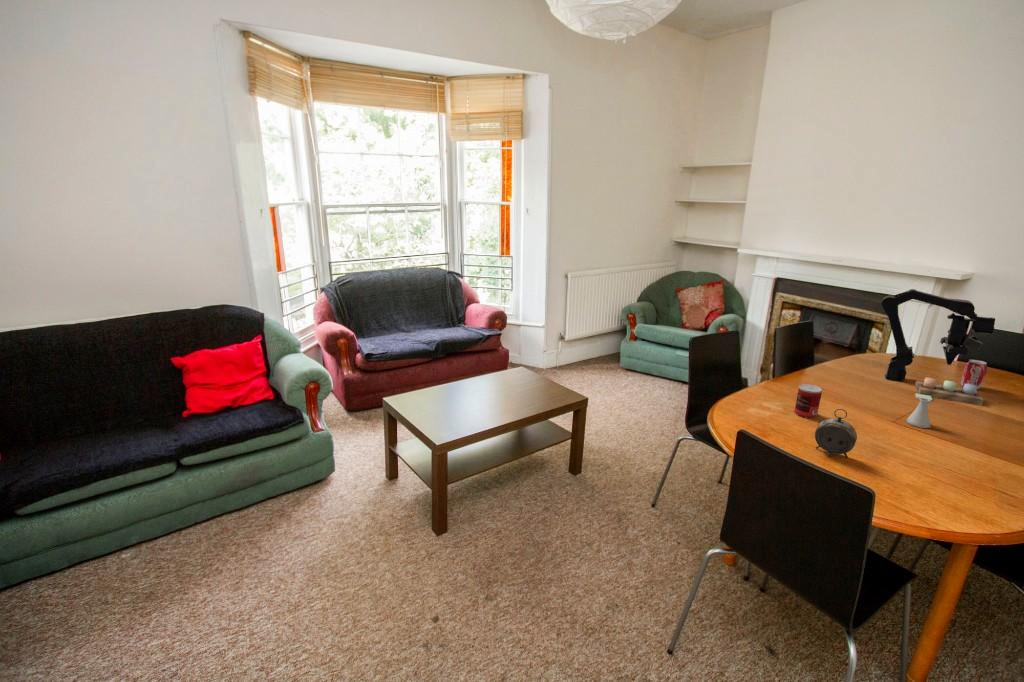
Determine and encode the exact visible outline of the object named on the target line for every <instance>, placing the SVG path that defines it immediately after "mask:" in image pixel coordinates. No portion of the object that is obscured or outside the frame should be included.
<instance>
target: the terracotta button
mask: <svg viewBox="0 0 1024 682" xmlns="http://www.w3.org/2000/svg"><path fill="white" fill-rule="evenodd" d="M937 381H938V380H937V379H936V378H932V377H924V380H923V382H924V383H923V387H924V388H930V389H935V386H936V384H937Z"/></svg>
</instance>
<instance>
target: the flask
mask: <svg viewBox="0 0 1024 682" xmlns="http://www.w3.org/2000/svg"><path fill="white" fill-rule="evenodd" d="M918 400H919V403H918V404H917V407H916V408H915V409H914V410H913V412H912V413H911V414H910V415H909V417H907V418H906V423H907V424H909V425H911V426H913V427H916V428H921V429H931V421H930V417H929V404H930V403H931V401H930V400H929V399H926V398H919V399H918Z"/></svg>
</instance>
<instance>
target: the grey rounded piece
mask: <svg viewBox="0 0 1024 682" xmlns="http://www.w3.org/2000/svg"><path fill="white" fill-rule="evenodd" d="M962 388H963V391H962V393H963V394H967V395H974V396H975V393H976V391H977V390H978V389H977V386H976V385H973V384H964V387H963V386H962Z"/></svg>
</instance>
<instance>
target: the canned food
mask: <svg viewBox="0 0 1024 682" xmlns="http://www.w3.org/2000/svg"><path fill="white" fill-rule="evenodd" d="M822 393H823V388H821V387H819V386H817V385H813V384H809V383H807V384H805V383H802V384H800V385H799V386H798V389H797V394H796V395H797V396H796V400H795V405H794V410H793V411H794V413H796V414H795V415H797V414H798V415H800V416H802V417H801V418H804V417H807V418H806V419H815V418H817V416H818V413H819V409H820V408H819V407H820V404H821V400H822ZM798 415H797V416H798ZM800 416H799V417H800Z"/></svg>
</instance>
